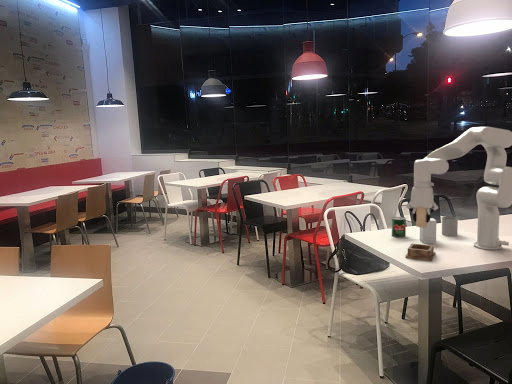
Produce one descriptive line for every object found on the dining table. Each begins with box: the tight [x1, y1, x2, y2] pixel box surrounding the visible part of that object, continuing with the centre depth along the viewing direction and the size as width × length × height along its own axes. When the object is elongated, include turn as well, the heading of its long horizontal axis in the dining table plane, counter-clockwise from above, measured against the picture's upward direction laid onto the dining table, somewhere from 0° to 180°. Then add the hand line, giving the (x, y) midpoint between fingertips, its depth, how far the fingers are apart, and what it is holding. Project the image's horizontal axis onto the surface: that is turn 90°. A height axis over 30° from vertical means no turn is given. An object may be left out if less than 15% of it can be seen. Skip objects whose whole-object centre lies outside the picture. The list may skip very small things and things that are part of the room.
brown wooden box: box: [405, 243, 436, 262], centre depth 196 cm, size 12×12×4 cm
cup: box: [441, 216, 459, 237], centre depth 233 cm, size 8×8×10 cm
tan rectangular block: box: [415, 207, 427, 228], centre depth 193 cm, size 5×5×10 cm
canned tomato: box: [391, 216, 407, 239], centre depth 234 cm, size 8×8×11 cm
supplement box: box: [419, 217, 437, 244], centre depth 220 cm, size 7×7×13 cm
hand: (421, 221), depth 194 cm, fingers closed on tan rectangular block, 5 cm apart
